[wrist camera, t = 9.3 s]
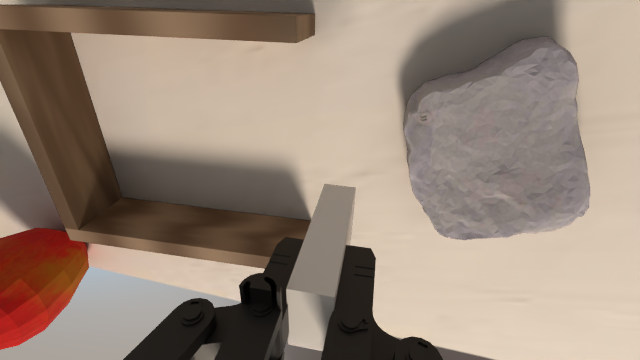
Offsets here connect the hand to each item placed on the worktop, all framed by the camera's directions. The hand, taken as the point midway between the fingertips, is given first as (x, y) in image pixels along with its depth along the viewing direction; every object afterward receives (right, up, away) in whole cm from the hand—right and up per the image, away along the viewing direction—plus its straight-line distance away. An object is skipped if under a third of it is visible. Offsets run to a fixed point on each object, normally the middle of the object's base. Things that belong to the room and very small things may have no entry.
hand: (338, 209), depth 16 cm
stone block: (+10, +4, +7) cm, 13 cm away
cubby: (-11, +5, +10) cm, 16 cm away
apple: (-27, -5, +19) cm, 34 cm away
